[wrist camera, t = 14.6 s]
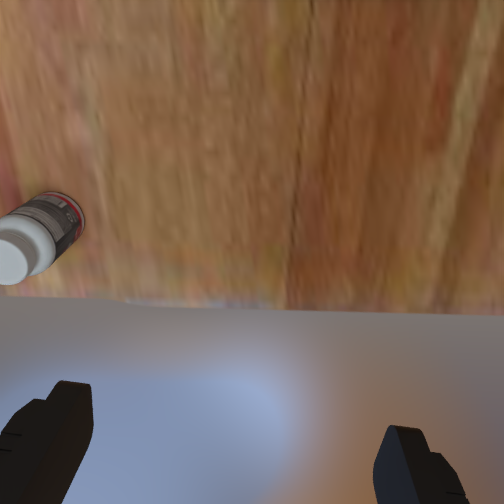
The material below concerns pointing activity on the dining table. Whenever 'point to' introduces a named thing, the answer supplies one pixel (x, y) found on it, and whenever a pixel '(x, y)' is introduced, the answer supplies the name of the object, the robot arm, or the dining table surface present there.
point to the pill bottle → (37, 235)
